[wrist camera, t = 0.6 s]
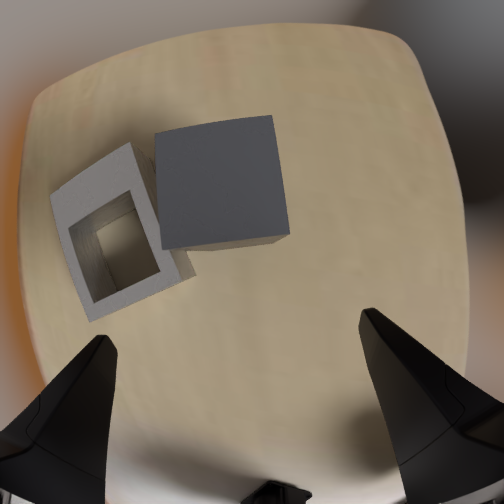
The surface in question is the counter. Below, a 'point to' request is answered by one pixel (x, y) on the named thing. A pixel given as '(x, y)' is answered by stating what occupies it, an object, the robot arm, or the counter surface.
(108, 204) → the block with rectangular hole
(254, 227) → the peg
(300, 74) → the counter surface
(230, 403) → the counter surface
